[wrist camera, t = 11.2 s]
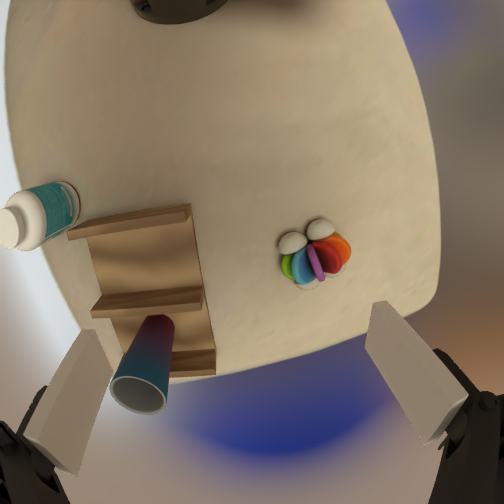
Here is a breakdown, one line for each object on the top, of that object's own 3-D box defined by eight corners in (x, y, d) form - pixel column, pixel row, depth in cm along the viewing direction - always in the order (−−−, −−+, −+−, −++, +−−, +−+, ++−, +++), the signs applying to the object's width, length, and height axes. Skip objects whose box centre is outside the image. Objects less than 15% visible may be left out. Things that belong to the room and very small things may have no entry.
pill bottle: (57, 171, 32) (-2, 182, 19) (89, 199, 34) (35, 221, 21) (38, 211, 33) (-18, 235, 20) (68, 239, 35) (16, 273, 22)
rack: (86, 220, 35) (66, 231, 29) (190, 203, 36) (184, 211, 30) (127, 355, 43) (118, 377, 37) (216, 350, 44) (216, 374, 38)
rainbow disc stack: (346, 260, 41) (368, 280, 34) (289, 288, 41) (302, 313, 34) (329, 210, 38) (350, 222, 31) (267, 239, 38) (277, 257, 32)
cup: (189, 332, 41) (178, 405, 27) (157, 349, 41) (139, 420, 27) (161, 299, 39) (135, 368, 24) (130, 320, 39) (98, 386, 25)
